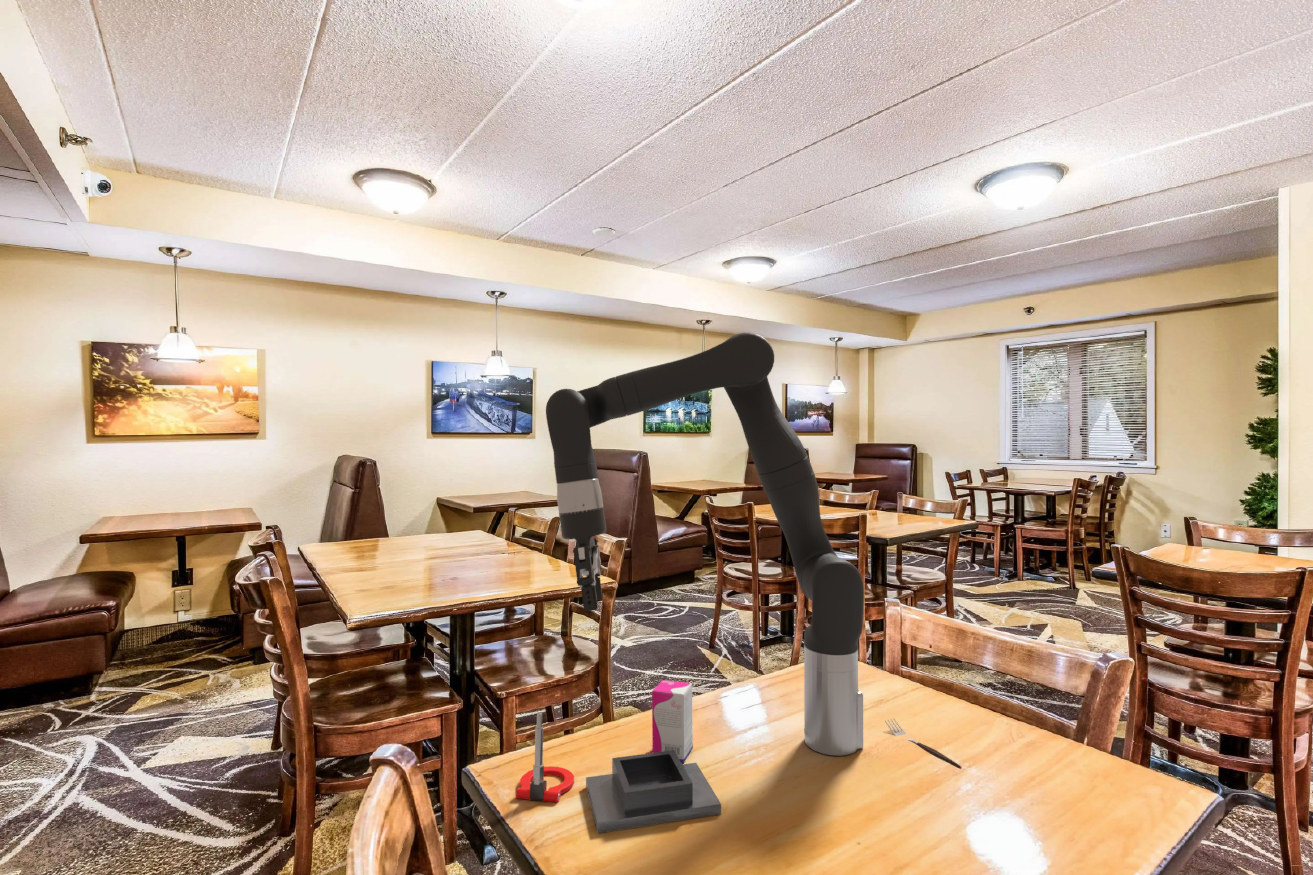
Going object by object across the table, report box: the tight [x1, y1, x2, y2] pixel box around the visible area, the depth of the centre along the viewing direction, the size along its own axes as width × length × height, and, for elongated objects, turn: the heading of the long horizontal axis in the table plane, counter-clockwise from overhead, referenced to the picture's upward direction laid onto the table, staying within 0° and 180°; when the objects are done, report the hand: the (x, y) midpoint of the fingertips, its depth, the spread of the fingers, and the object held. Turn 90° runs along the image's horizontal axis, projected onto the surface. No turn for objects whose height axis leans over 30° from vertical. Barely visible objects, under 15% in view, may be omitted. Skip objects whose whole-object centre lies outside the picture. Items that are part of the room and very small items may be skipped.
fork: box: [884, 717, 962, 769], centre depth 112 cm, size 3×16×2 cm, turn 24°
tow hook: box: [515, 712, 575, 803], centre depth 100 cm, size 8×13×9 cm
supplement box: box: [651, 679, 694, 764], centre depth 110 cm, size 6×6×12 cm
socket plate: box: [585, 750, 722, 834], centre depth 96 cm, size 18×12×4 cm, turn 104°
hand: (593, 604), depth 106 cm, fingers open, 8 cm apart
